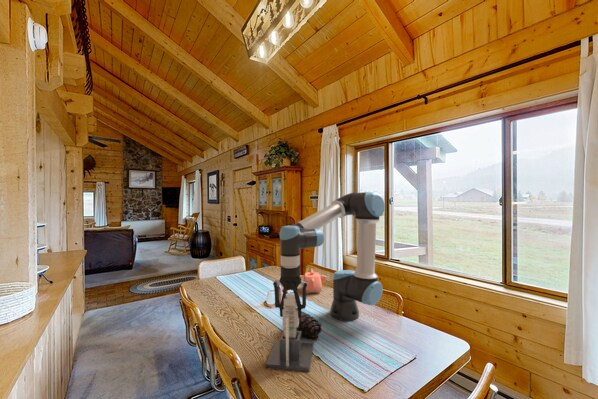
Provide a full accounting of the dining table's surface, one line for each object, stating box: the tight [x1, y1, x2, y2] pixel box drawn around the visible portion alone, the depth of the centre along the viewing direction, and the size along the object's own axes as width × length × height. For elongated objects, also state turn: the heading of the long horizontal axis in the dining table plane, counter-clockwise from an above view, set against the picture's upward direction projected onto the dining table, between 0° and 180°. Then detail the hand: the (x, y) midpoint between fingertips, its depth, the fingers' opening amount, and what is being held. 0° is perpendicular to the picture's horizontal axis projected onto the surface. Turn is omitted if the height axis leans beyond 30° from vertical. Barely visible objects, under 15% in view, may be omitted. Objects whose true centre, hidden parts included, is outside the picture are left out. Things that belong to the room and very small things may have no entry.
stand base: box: [265, 316, 314, 372], centre depth 105 cm, size 16×16×19 cm
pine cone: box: [297, 310, 322, 342], centre depth 123 cm, size 10×18×10 cm, turn 62°
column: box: [283, 294, 297, 339], centre depth 104 cm, size 4×5×20 cm
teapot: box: [300, 268, 328, 295], centre depth 178 cm, size 17×16×13 cm
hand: (290, 325), depth 105 cm, fingers closed on column, 4 cm apart
